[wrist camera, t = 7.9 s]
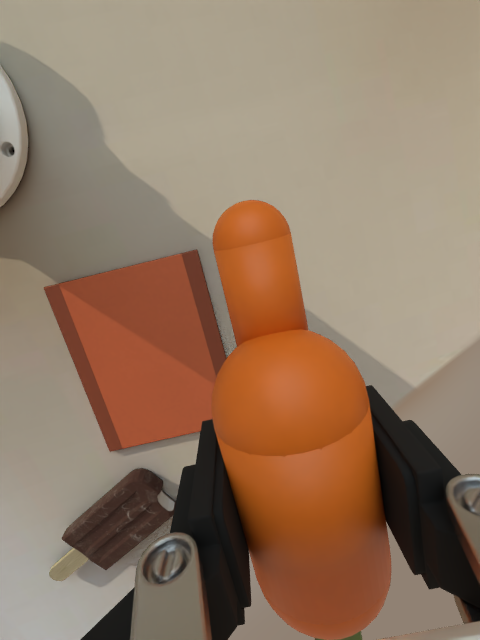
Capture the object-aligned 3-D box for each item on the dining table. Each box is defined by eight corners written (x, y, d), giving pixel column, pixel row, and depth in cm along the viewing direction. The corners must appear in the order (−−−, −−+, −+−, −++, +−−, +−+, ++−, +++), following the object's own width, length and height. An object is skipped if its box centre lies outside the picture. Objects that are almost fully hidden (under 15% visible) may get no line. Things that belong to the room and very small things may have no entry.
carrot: (171, 219, 10) (132, 219, 6) (313, 185, 10) (367, 163, 6) (270, 583, 14) (285, 729, 10) (373, 564, 13) (430, 703, 10)
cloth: (45, 286, 27) (43, 287, 27) (197, 249, 26) (196, 249, 26) (110, 449, 31) (109, 452, 31) (242, 419, 31) (243, 421, 30)
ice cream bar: (78, 582, 35) (183, 495, 33) (71, 599, 34) (181, 510, 31) (35, 554, 34) (141, 461, 32) (26, 570, 32) (136, 474, 30)
